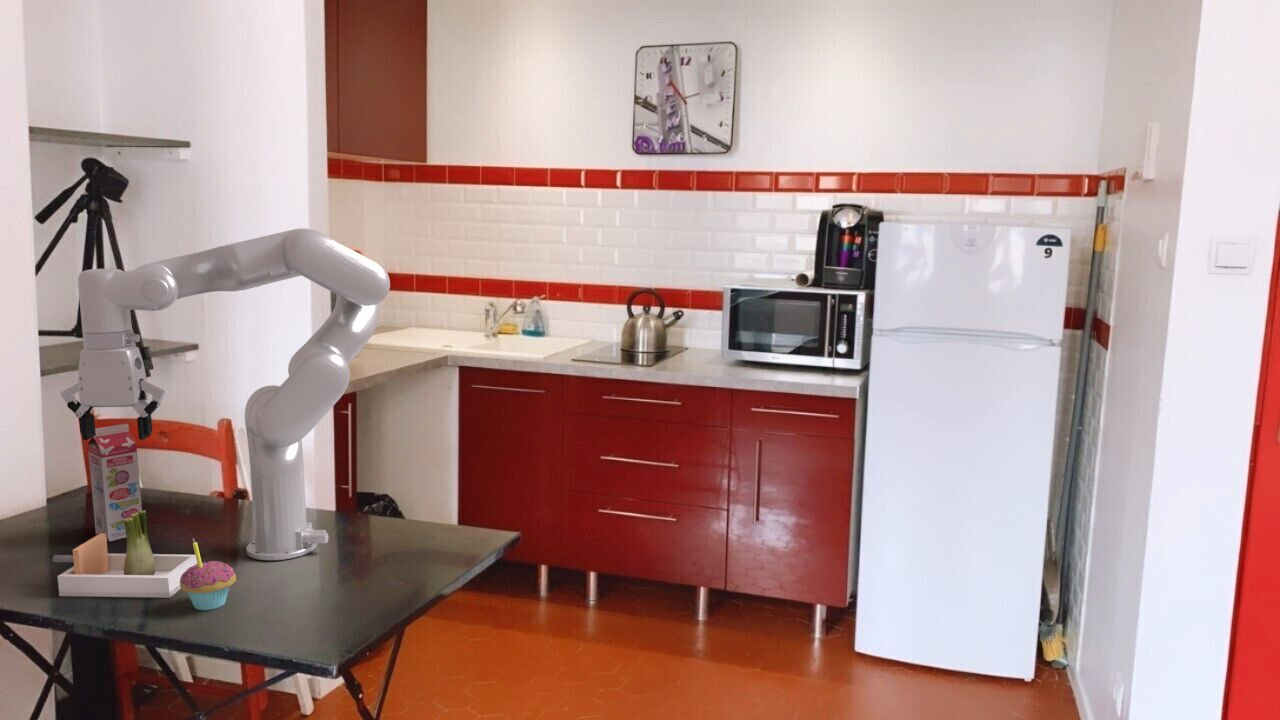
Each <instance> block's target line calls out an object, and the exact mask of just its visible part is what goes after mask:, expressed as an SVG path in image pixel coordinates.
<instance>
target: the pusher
mask: <svg viewBox="0 0 1280 720" xmlns="http://www.w3.org/2000/svg"><path fill="white" fill-rule="evenodd" d="M108 554H109V552H108V542H107V540H106V533H100V534H99V535H97V534H96V535H95V536H93V537H92V538H90V539H88V540H87V541H85V542H84V543H82V544H80V545H78V546H77V547H75V548H73V549H72V555H70V554H65V555H64V554H63V555H62V554H54V555H53V556H52V562H53V563H73V566H74V570H75V574H90V575H101V574H102V573H104V572H105V571H107V570H108V569H109V562H108Z"/></svg>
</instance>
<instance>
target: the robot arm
mask: <svg viewBox="0 0 1280 720" xmlns="http://www.w3.org/2000/svg"><path fill="white" fill-rule="evenodd" d="M301 276H302V277H304V278H306V279H307V280H309V281H311V282H313V283H315V284H317V285H319V287H322V288H324V289H325V290H328V291H330V292H332V293H334V294H336V300H335V305H334V308H333V310H332V312H331V314H330V315H329V316H328V318H327V319H326V320H325V321H324V323H323V324H322V325H321V326H320V327H319V328H318V329H317V330H316V331H315V333H314V334H312V336H311V337H309V339H308V340H307V341H305V343H304V344H303V345H302V346H301V347H300V348H298V350H297V351H296V352H295V353H294V354H293V355H292V356H291V358H290V361H289V362H288V367H287V372H288V377H287V378H285V379H286V380H284V381H283V383H281V384H280V385H274V384H273V385H266V386H265V385H264V386H263V387H260V388H258V389H257V390H256V391H253V393H252V394H251V395H250V396H249V398H248V399H247V401H246V404H245V408H244V423H245V432H246V437H247V439H246V440H247V446H248V457H249V474H250V475H249V476H250V488H251V490H250V492H251V503H252V505H251V506H252V507H251V508H252V519H253V520H252V521H253V533H254V534H253V535H254V539H253V541H251V542H249V544H247V546H246V549H245V550H246V555H247V556H248V557H250V558H251V559H255V560H260V561H283V560H290V559H294V558H299V557H301V556H302V557H303V556H305V555H307V554H309V553H311V552H312V551H314V550H315V549H316V548H317V544H328V542H329V533H328V532H327V530H326V529H314V528H313V522H311V521H310V522H309V521H307V520H308V519H307V505H306V504H307V503H306V502H307V501H306V489H305V464H304V463H305V462H304V451H303V450H304V449H303V442H302V440H303V439H304V438H305V437H306V436H308V434H309V433H310V432H311V431H312V430H313V429H314V428H315V427H316V425H318V423H319V422H320V421H321V420H323V418H324V417H325V416H326V415H327V414H328V412H329V411H330V410H332V408H333V407H334V406H335V405H336V403H338V401H340V399H341V398H342V396H343V395H344V394H345V392H346V390H347V388H348V386H349V383H350V380H351V369H350V366H349V364H350V363H351V362H353V360H354V359H355V358H356V356H357V355H358V354H359V353H360V352H361V350H362V349H363V348H364V347H365V346H366V344H367V343H368V341H370V339H371V338H372V336H373V334H374V332H375V330H376V328H377V325H378V323H379V317H380V311H381V310H380V308H381V302H382V301H384V300H385V299H386V298H387V296H388V294H389V291H390V289H391V281H390V280H391V279H390V277H389V274H388V272H387V270H386V269H385V268H384V267H383V266H382V265H381V264H379V263H378V262H376V261H374V260H372V259H370V258H368V257H367V256H364V255H362V254H361V253H359V252H356V251H355V250H353V249H351V248H349V247H347V246H346V245H343V244H342V243H340V242H338V241H336V240H335V239H333V238H331V237H329V236H328V235H327V234H324V233H322V232H321V231H318V230H315V229H309V228H295V229H294V228H293V229H290V230H286V231H281V232H277V233H273V234H272V233H271V234H269V235H263V236H260V237H255V238H250V239H247V240H243V241H242V240H241V241H237V242H233V243H229V244H225V245H224V244H223V245H221V246H216V247H213V248H210V249H206V250H201V251H198V252H192V253H189V254H184V255H179V256H176V257H171V258H167V259H163V260H157V261H153V262H149V263H145V264H143V265H140V266H138V267H136V268H135V269H134V270H133V269H132V270H122V269H119V268H95V269H93V268H92V269H86V270H84V271H81V272H80V273H79V274H78V277H77V287H78V289H77V290H78V297H79V307H80V321H81V330H82V340H83V349H81V350H80V354H79V360H78V373H77V374H78V375H77V376H78V378H77V379H78V382H77V383H76V384H73V385H72V386H70V387H68V388H66V389H65V390H63V391H61V393H60V396H61V397H62V399H63V400H64V402H65V404H66V405H67V406H66V407H67V408H68V409H69V410H70V411H72V412H73V413H74V415H75V417H76V418H78V421H79V422H78V423H79V433H80V434H81V435H82V436H81V437H82V438H81V439H82V441H88V440H91V438H93V437H94V436H95V435H96V432H95V429H96V425H95V424H96V423H95V416H94V414H93V413H91V412H92V411H93V409H94V408H129V407H131V408H132V409H133V410H135V412H136V413H137V414H138V415H139V417H137V419H136V421H137V423H136V424H137V434H138V439H139V440H141V441H143V440H146V439H148V438H150V437H151V436H152V433H153V422H152V414H154V412H155V411H156V410H157V408H159V407H160V406H161V402H162V400H163V398H164V397H165V394H166V392H165V390H164V389H162V388H160V387H158V386H156V385H154V384H152V383H150V382H148V380H147V374H146V369H145V365H144V361H143V358H142V354H141V351H140V348H139V347H138V346H136V347H135V346H134V345H135V343H139V342H140V341H141V335H140V334H138V333H137V334H136V333H134V329H132V328H133V327H132V319H131V318H132V315H131V311H132V310H133V311H135V310H136V311H146V312H147V311H149V312H159V311H162V310H165V309H168V308H170V307H171V306H172V305H173V304H174V302H175V301H176V300H179V299H183V298H187V297H192V296H196V295H201V294H205V293H206V294H207V293H212V292H214V293H215V292H238V291H239V292H240V291H246V290H250V289H253V288H257V287H261V286H265V285H269V284H273V283H277V282H281V281H287V280H289V279H293V278H297V277H301ZM76 393H78V394H79V395H78V396H79V400H80V401H78V400H77V399H76V397H75V394H76ZM149 394H150V395H151V396H152V398H151V400H150V402H147V400H148V399H149Z"/></svg>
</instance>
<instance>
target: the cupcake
mask: <svg viewBox="0 0 1280 720" xmlns="http://www.w3.org/2000/svg"><path fill="white" fill-rule="evenodd" d="M192 541H193V543H192V546H193V551H194V555H195V556H196V560H197V565H194V566H192V567H190V568H188V569H186V570H187V571H185V572H184V573H183V574H182V576H181V577H180V587H181V589H180V590H182V592H186V593H187V595H188V597H189V598H190V601H191V603H192V605H193V608H194V609H195V610H197V611H198V610H199V611H210V610H215V609H218V608H219V609H220V607H223V606H224V605H225V604H226V602H227V601H226V600H227V597H228V593H229V591H230V587H231V586H232V585H233V584H235V583H236V581H237V575H236V573H235V569H234V568H233V567H232V566H231V565H229V564H227V563H225V562H223V561H219V560H211V561H210V560H208V561H205V562H202V558H201V554H200V550H199V545H198V542H196V541H195V538H192Z"/></svg>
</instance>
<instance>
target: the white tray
mask: <svg viewBox="0 0 1280 720" xmlns="http://www.w3.org/2000/svg"><path fill="white" fill-rule="evenodd" d="M152 554H153V557H154V560H155V565H156V569H155V574H154V575H124V562H125V559H126V553H108V562H109V569H108V570H107V571H105V572H104V573H102V574H101V575H90V574H75V570H74V565H73V566H72V567H70V568H69V569H67V570H65V571H63V572H62V573H60V574H59V575H57V584H58V594H59V597H94V598H95V597H98V598H99V597H102V598H103V597H105V598H106V597H107V598H108V597H109V598H111V597H112V598H161V599H162V598H169V599H170V598H171V597H172V596H174V595H175V594H176V593H177V592H179V591H180V590H182V589H181V587H180V577H181V576H182V574H183V573H184V572H185V571H187V570H186V569H188V568H190V567H192V566H194V565H197V560H196V556H195V554H175V553H173V554H171V553H170V554H167V553H165V554H164V553H163V554H161V553H160V554H159V553H152Z"/></svg>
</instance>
